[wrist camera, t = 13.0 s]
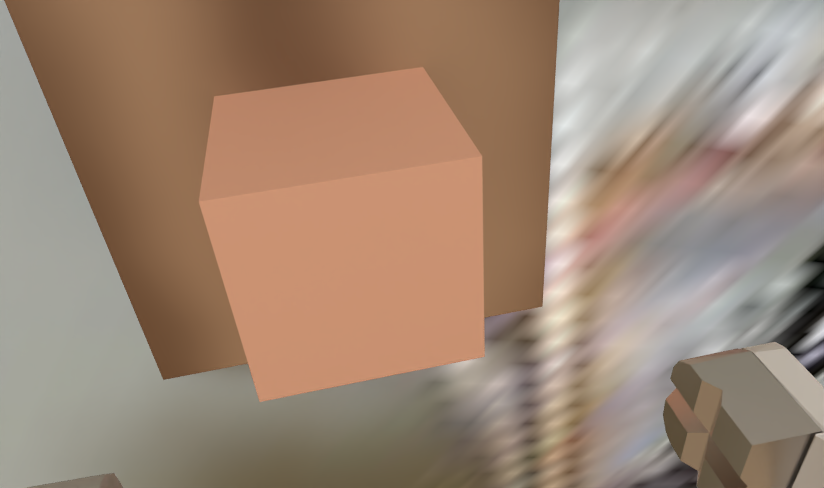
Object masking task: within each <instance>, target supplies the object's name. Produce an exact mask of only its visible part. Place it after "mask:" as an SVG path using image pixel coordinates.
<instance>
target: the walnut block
mask: <svg viewBox="0 0 824 488" xmlns="http://www.w3.org/2000/svg"><path fill="white" fill-rule="evenodd" d="M4 1H5V3H6V5H7V8H8V10H9V13H10V15H11V17H12V20H13V22H14V25H15V27H16V29H17V32H18V34H19V36H20V39H21V41H22V44H23V46H24V48H25V51H26V53H27V56H28V58H29V60H30V63H31V65H32V67H33V70H34V72H35V75H36V77H37V79H38V82H39V84H40V87H41V89H42V91H43V94H44V96H45V98H46V101H47V103H48V106H49V108H50V110H51V113H52V115H53V118H54V120H55V122H56V125H57V127H58V129H59V132H60V134H61V137H62V139H63V141H64V144H65V146H66V149H67V151H68V153H69V156H70V158H71V160H72V163H73V165H74V168H75V170H76V172H77V175H78V177H79V180H80V182H81V184H82V187H83V189H84V191H85V194H86V196H87V199H88V201H89V203H90V206H91V208H92V211H93V213H94V215H95V218H96V220H97V222H98V225H99V227H100V230H101V232H102V234H103V237H104V239H105V242H106V244H107V246H108V249H109V251H110V253H111V256H112V258H113V261H114V263H115V265H116V268H117V270H118V273H119V275H120V277H121V280H122V282H123V284H124V287H125V289H126V292H127V294H128V296H129V299H130V301H131V304H132V306H133V308H134V311H135V313H136V315H137V318H138V320H139V323H140V325H141V327H142V330H143V332H144V335H145V337H146V339H147V342H148V344H149V346H150V349H151V351H152V354H153V356H154V358H155V361H156V363H157V366H158V368H159V370H160V373H161V375H162V377H163V380H165V379H170V378H175V377H180V376H185V375H190V374H196V373H201V372H206V371H211V370H216V369H222V368H227V367H232V366H237V365H242V364H247V363H248V362H247V358H246V355H245V352H244V348H243V345H242V342H241V339H240V335H239V332H238V329H237V326H236V322H235V319H234V316H233V313H232V309H231V306H230V303H229V299H228V296H227V293H226V290H225V286H224V283H223V280H222V277H221V273H220V270H219V267H218V263H217V260H216V257H215V254H214V250H213V247H212V244H211V241H210V237H209V234H208V231H207V227H206V224H205V221H204V218H203V214H202V211H201V208H200V205H199V196H200V189H201V182H202V176H203V169H204V162H205V156H206V149H207V142H208V135H209V129H210V122H211V115H212V108H213V102H214V96H221V95H228V94H235V93H242V92H250V91H257V90H264V89H271V88H278V87H285V86H292V85H299V84H306V83H313V82H320V81H327V80H334V79H341V78H349V77H356V76H363V75H370V74H377V73H384V72H391V71H398V70H405V69H412V68H419V67H423V68H424V69H425V71H426V72H427V74H428V75H429V77H430V78H431V80H432V81H433V83H434V84H435V86H436V87H437V89H438V90H439V92H440V93H441V95H442V96H443V98H444V99H445V101H446V102H447V104H448V105H449V107H450V108H451V110H452V111H453V113H454V114H455V116H456V117H457V119H458V120H459V122H460V123H461V125H462V126H463V128H464V129H465V131H466V132H467V134H468V135H469V137H470V138H471V140H472V141H473V143H474V144H475V146H476V147H477V149H478V150H479V152H480V153H481V155H482V177H483V263H484V318H485V317H490V316H496V315H501V314H506V313H511V312H516V311H521V310H527V309H532V308H537V307H542V303H543V285H544V267H545V249H546V231H547V213H548V195H549V178H550V160H551V142H552V124H553V106H554V88H555V70H556V52H557V34H558V16H559V0H4Z"/></svg>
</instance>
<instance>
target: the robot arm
mask: <svg viewBox="0 0 824 488" xmlns="http://www.w3.org/2000/svg"><path fill="white" fill-rule="evenodd" d="M670 379H671V381H672V382H673V384H674V385H675V386H676V389H675V390H674V391H673V392H672V393H671V394H670V395H669V396H668V397H667V398H666V400H665V406H664V411H663V418H664V424H665V430H666V433H667V436H668V438H669V441H670V443H671V446H672V447H673V449H674V451H675V452H676V454H677V455H678V457H679V459H680V460H681V461H683V462H684V463H686V464H688V465H689V466H691V467H693V468H694V469H696V470H698V478H697V487H698V488H824V387H823V386H822V385H821V384H820V383H819V382H818V381H817V380H816V379H815V378H814V377H813V376H812V375H811V374H810V373H809V372H808V371H807V370H806V369H805V367H804V366H803V365H802V364H801V363H800V362H799V361H798V360H797V359H796V358H795V357H794V356H793V355H792V354H791V353H790V352H789V351H788V350H787V349H786V348H785V347H784V346H782V345H780V344H778V343H776V342H772V343H767V344H762V345H756V346H751V347H746V348H742V349H733V350H728V351H723V352H719V353H714V354H709V355H704V356H699V357H695V358H690V359H685V360H680V361H678V363H677V364H676V365H675V366H674V367H673V370H672V374H671V378H670ZM27 488H123V486H122V485H121V483H120V481H119V480H118V478H117V477H116V475H115V473H110V474H103V475H97V476H91V477H85V478H79V479H73V480H67V481H61V482H56V483H50V484H44V485H38V486H32V487H27Z"/></svg>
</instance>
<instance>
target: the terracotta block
mask: <svg viewBox="0 0 824 488" xmlns="http://www.w3.org/2000/svg"><path fill="white" fill-rule="evenodd" d="M199 205H200V208H201V211H202V214H203V218H204V221H205V224H206V227H207V231H208V234H209V237H210V241H211V244H212V247H213V250H214V254H215V257H216V260H217V263H218V267H219V270H220V273H221V277H222V280H223V283H224V286H225V290H226V293H227V296H228V299H229V303H230V306H231V309H232V313H233V316H234V319H235V322H236V326H237V329H238V332H239V335H240V339H241V342H242V345H243V348H244V352H245V355H246V358H247V362H248V365H249V368H250V371H251V375H252V378H253V381H254V384H255V388H256V391H257V394H258V398H259V401H260V402H262V401H267V400H272V399H277V398H282V397H287V396H292V395H296V394H301V393H306V392H311V391H316V390H321V389H326V388H331V387H336V386H341V385H346V384H351V383H356V382H361V381H366V380H371V379H376V378H381V377H386V376H391V375H396V374H401V373H406V372H411V371H416V370H421V369H426V368H431V367H436V366H441V365H446V364H451V363H456V362H461V361H465V360H470V359H475V358H480V357H485V349H484V263H483V177H482V155H481V153H480V152H479V150H478V149H477V147H476V146H475V144H474V143H473V141H472V140H471V138H470V137H469V135H468V134H467V132H466V131H465V129H464V128H463V126H462V125H461V123H460V122H459V120H458V119H457V117H456V116H455V114H454V113H453V111H452V110H451V108H450V107H449V105H448V104H447V102H446V101H445V99H444V98H443V96H442V95H441V93H440V92H439V90H438V89H437V87H436V86H435V84H434V83H433V81H432V80H431V78H430V77H429V75H428V74H427V72H426V71H425V69H424V68H423V67H419V68H412V69H405V70H398V71H391V72H384V73H377V74H370V75H363V76H356V77H349V78H341V79H334V80H327V81H320V82H313V83H306V84H299V85H292V86H285V87H278V88H271V89H264V90H257V91H250V92H242V93H235V94H228V95H221V96H214V102H213V108H212V115H211V122H210V129H209V135H208V142H207V149H206V156H205V162H204V169H203V176H202V182H201V189H200V196H199Z"/></svg>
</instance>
